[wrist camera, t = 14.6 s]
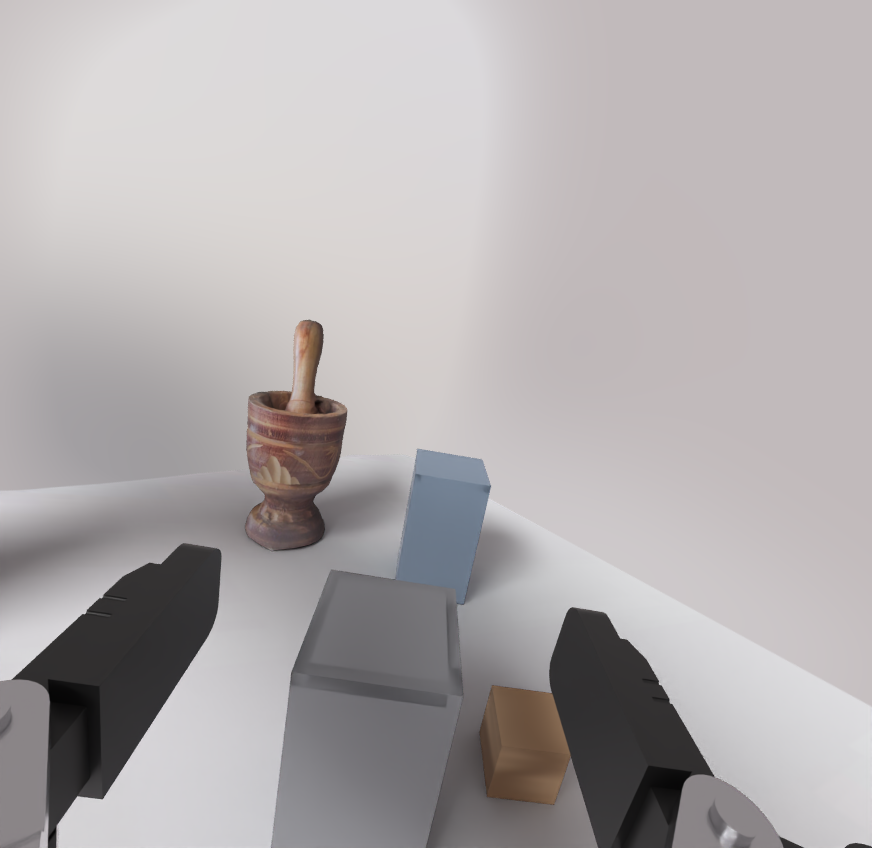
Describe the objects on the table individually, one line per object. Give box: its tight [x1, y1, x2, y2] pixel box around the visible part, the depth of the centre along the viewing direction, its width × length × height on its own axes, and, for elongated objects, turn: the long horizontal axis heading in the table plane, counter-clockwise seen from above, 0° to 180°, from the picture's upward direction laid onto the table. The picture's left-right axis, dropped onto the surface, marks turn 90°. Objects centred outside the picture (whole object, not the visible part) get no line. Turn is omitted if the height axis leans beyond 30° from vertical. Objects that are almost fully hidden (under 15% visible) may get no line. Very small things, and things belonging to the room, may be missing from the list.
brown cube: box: [480, 685, 571, 805], centre depth 24 cm, size 4×4×4 cm
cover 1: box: [271, 570, 463, 848], centre depth 20 cm, size 6×6×11 cm
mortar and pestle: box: [245, 320, 347, 551], centre depth 42 cm, size 12×9×20 cm
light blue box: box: [395, 449, 491, 604], centre depth 39 cm, size 6×6×11 cm
